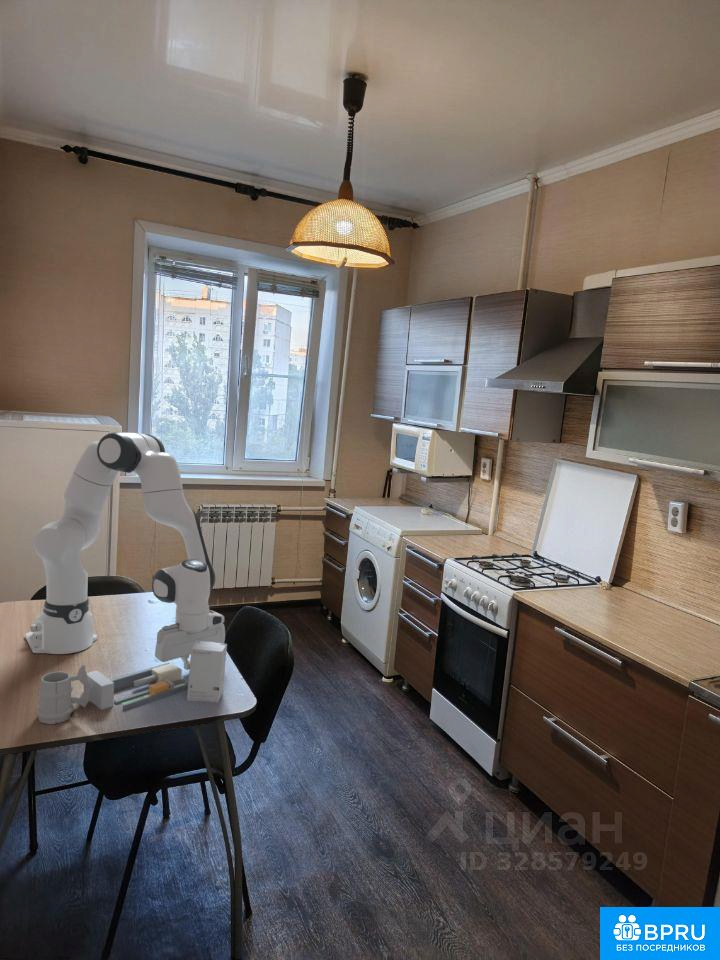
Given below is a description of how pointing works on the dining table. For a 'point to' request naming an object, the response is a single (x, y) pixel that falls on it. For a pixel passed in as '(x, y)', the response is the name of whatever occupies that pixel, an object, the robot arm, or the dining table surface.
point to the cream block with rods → (162, 675)
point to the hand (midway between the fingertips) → (190, 668)
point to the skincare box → (206, 671)
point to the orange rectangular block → (158, 688)
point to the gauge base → (105, 687)
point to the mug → (61, 695)
